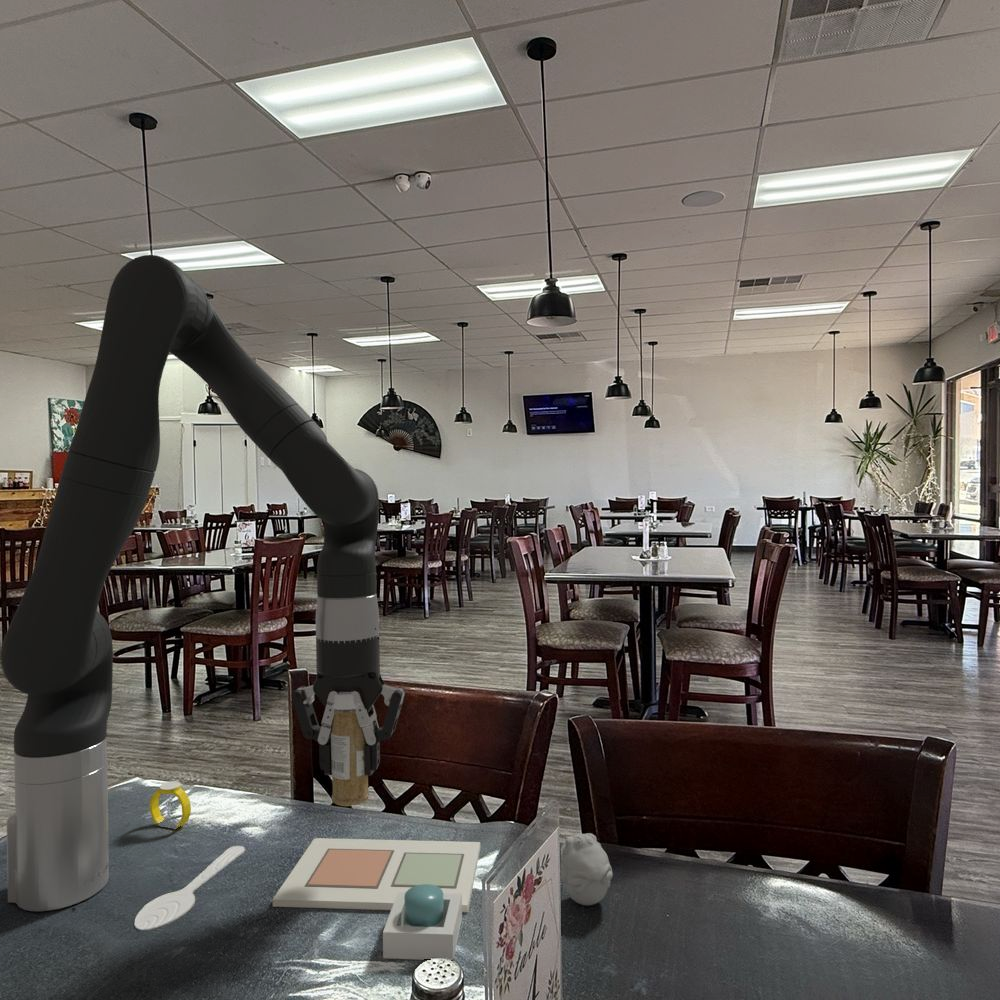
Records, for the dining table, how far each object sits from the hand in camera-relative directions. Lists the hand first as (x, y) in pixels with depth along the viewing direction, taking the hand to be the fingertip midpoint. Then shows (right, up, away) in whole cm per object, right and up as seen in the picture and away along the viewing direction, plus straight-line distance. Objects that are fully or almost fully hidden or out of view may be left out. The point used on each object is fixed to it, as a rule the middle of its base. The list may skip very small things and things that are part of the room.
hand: (350, 772), depth 85 cm
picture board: (+4, -12, 0) cm, 13 cm away
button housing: (+10, -12, -12) cm, 20 cm away
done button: (+10, -10, -12) cm, 19 cm away
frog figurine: (+28, -12, -6) cm, 31 cm away
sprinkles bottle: (0, -3, 0) cm, 3 cm away
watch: (-28, -13, +13) cm, 33 cm away
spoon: (-18, -13, -2) cm, 22 cm away
